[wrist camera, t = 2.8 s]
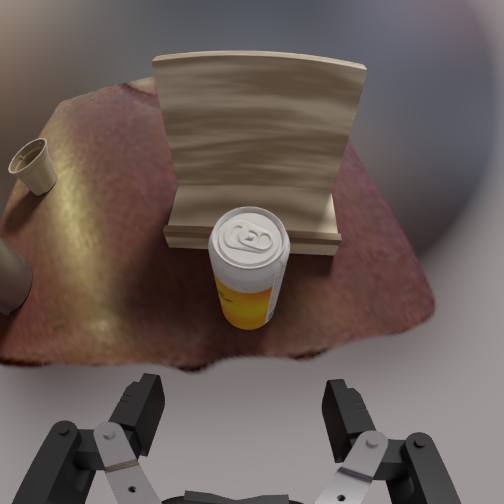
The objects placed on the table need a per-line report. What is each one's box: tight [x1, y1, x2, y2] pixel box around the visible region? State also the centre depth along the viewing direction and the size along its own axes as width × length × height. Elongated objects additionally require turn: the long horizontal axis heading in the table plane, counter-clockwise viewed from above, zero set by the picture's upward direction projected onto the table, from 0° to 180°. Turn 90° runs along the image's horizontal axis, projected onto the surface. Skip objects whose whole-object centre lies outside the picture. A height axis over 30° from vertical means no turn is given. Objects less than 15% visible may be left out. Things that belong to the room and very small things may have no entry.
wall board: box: [152, 51, 367, 255], centre depth 30 cm, size 11×22×22 cm, turn 87°
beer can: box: [208, 207, 290, 330], centre depth 27 cm, size 6×6×15 cm
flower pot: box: [9, 138, 57, 196], centre depth 40 cm, size 9×9×9 cm
